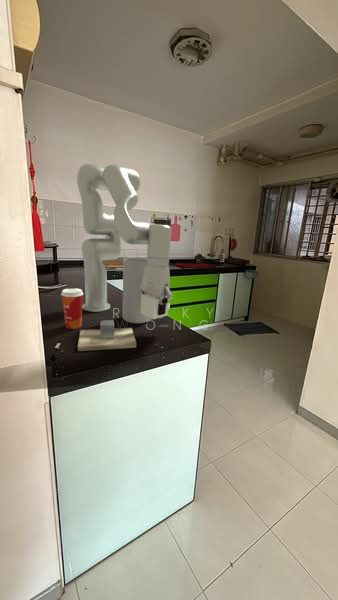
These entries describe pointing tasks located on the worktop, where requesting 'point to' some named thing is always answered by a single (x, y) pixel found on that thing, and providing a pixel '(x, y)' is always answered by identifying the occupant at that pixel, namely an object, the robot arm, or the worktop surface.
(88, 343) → the board
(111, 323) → the block
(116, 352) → the worktop surface
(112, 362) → the worktop surface
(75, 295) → the paper cup
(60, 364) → the worktop surface
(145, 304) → the duct collar
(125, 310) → the cylinder vase
